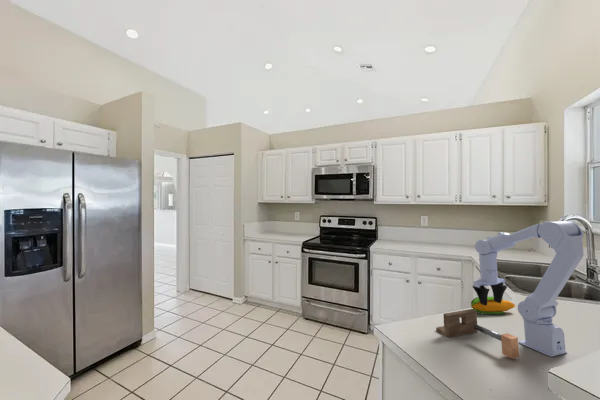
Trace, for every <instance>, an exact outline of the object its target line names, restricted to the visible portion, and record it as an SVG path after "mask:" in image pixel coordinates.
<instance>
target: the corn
mask: <svg viewBox="0 0 600 400" xmlns="http://www.w3.org/2000/svg"><path fill="white" fill-rule="evenodd" d="M470 307H471V309H472V308H473V310H476V313H478V314H481V313H483V314H482V315H499V314H500V313H501V314H505V312H507V311H509V310H512V309H513V308H515V307H516V304H515V303H514V302H512V301H510V300H505V299H504V297H502V301H501V303H498V302H495V301H494V296H487V305H486V306H485V305H482V304H481V303H480V300H479V297H478V296H477V297H474V298H473V299H472V300H471V301H470Z"/></svg>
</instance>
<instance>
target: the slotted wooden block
mask: <svg viewBox="0 0 600 400" xmlns="http://www.w3.org/2000/svg"><path fill="white" fill-rule="evenodd" d="M477 313H478V312H476V310H473V309H472V308H471V309H465V310H464V309H463V310H457V311H452V312H446V313H443V326H438V327H437V326H436V329H435V330H436V331H437V332H438V333H440V334H442V335H444V336H446V337H447V338H449V339H450V338H454V337H459V336H464V334H465V335H469V333H470V334H473V333H478V332H479V331H478V330H475V329H474V325H475V324H477V325H478V315H477ZM460 319H461V320H460Z"/></svg>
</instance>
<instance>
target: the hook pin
mask: <svg viewBox="0 0 600 400" xmlns="http://www.w3.org/2000/svg"><path fill="white" fill-rule="evenodd" d="M474 329H475V330H478V332H480V333H483V334H484V335H487V336H488V337H491V338H494V339H495V340H498V341H499V342H500V343H501V352H502V353H501V354H502V355H503V356H506V357H507V358H510V359H512V360H513V359H517V358H520V350H519V348H520V347H519V337H518V336H515V335H513V334H511V333H508V332H507V333H503V334H499V333H497V332H495V331H492V330H490V329H488V328H486V327H483V326H481V325H478V323H477V324H475V325H474Z"/></svg>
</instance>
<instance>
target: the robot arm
mask: <svg viewBox="0 0 600 400" xmlns="http://www.w3.org/2000/svg"><path fill="white" fill-rule="evenodd" d="M584 235H585V233H584V231H583V230H582V229H581V227H580V226H579V225H578V223H576V222H573V221H571V220H561V221H544V222H542V223H537V224H533V225H530V226H528V227H526V228H523V229H520V230H518V231H516V232H515V231H514V232H513V233H509V232H503V231H502V232H497V235H493V236H488V237H487V238H486V239H479V240H477V241H476V242H475V244H474V248H475V249H474V250H475V251H476V252H477V253H478V257H479V258H478V259H479V273H480V277H479V278H478V280H474V281H473V285H472V288H473V290H474V292H475V293H476V295H477V297H479V300H480V303H481V304H482V305H485V306H486V305H487V297H489V296H488V295H489V292H490V289H489V288H487V287H488V286H490V287H491V290H492V294H493V295H492V297H494V301H495V302H498V303H501V301H502V300H503V299H502V298H504V297H503V296H504V293H505V291H506V289H508V286H507V285H506V279H505V278H501V277H499V276H498V274H499V273H498V263H497V261H498V260H497V259H498V254H499V252H501V251H505V250H508V249H511V248H514V247H515V245H516V243H519V242H522V241H525V240H529V239H533V238H537V239H539V238H541V239H542V240H543V241H545V243H546V244H548V245H549V246H550V247H551V249H553V250H554V252H555V255H554V257H553V259H552V261H551V263H550V264H549V266H548V267H547V269H546V271H545V273H543V276H542V277H541V279H540V281H539V283H538V284H537V286H536V287H535V290H534V291H533V292H532V293H530V294H528V295H527V296H526V297H525V299H524V300H522V301H520V302H519V303H518V304H517V312H518V313H519V314H520V316H521V318H522V319H523V326H524V327H523V329H524V331H523V332H524V339H523V340H520V341H519V340H518V344H520V345H523V346H525V347H527V348H530V349H532V350H535V351H537V352H538V353H541V354H544V355H547V357H556V356H560V355H564V354H567V353H568V351H567V350H566V343H565V342H566V341H565V332H564V330H563V328H561V327H559V326H557V325H555V324H554V323H553V318H554V317H556V315H557V306H558V305H559V302H558V301H557V300H556V299H557V298H558V297H559V294H561V291H563V289H564V287H565V286H566V284H567V282H568V281H569V279H570V277H571V276H572V275H573V273H574V271H575V269H576V268H577V267H578V265H579V263H581V260H582V259H583V257H584V247H583V237H584Z"/></svg>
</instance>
